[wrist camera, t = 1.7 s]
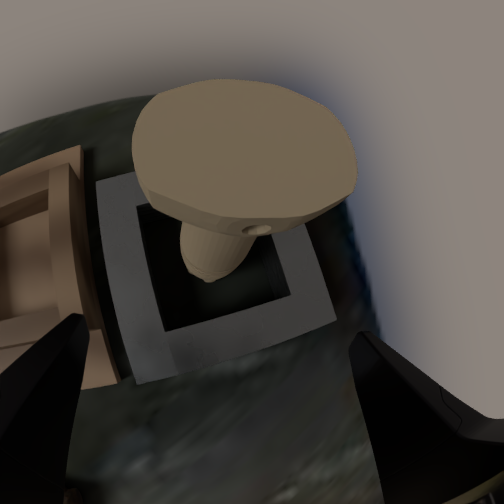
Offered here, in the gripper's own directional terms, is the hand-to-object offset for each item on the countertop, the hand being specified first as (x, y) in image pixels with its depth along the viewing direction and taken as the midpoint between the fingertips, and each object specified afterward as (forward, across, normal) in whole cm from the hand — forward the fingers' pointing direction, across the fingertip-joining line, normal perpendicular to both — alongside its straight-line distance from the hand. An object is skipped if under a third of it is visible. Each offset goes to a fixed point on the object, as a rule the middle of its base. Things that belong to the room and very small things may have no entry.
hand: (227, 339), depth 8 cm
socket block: (+12, 0, +5) cm, 13 cm away
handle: (+12, 0, +5) cm, 14 cm away
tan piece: (+11, +15, +7) cm, 20 cm away
